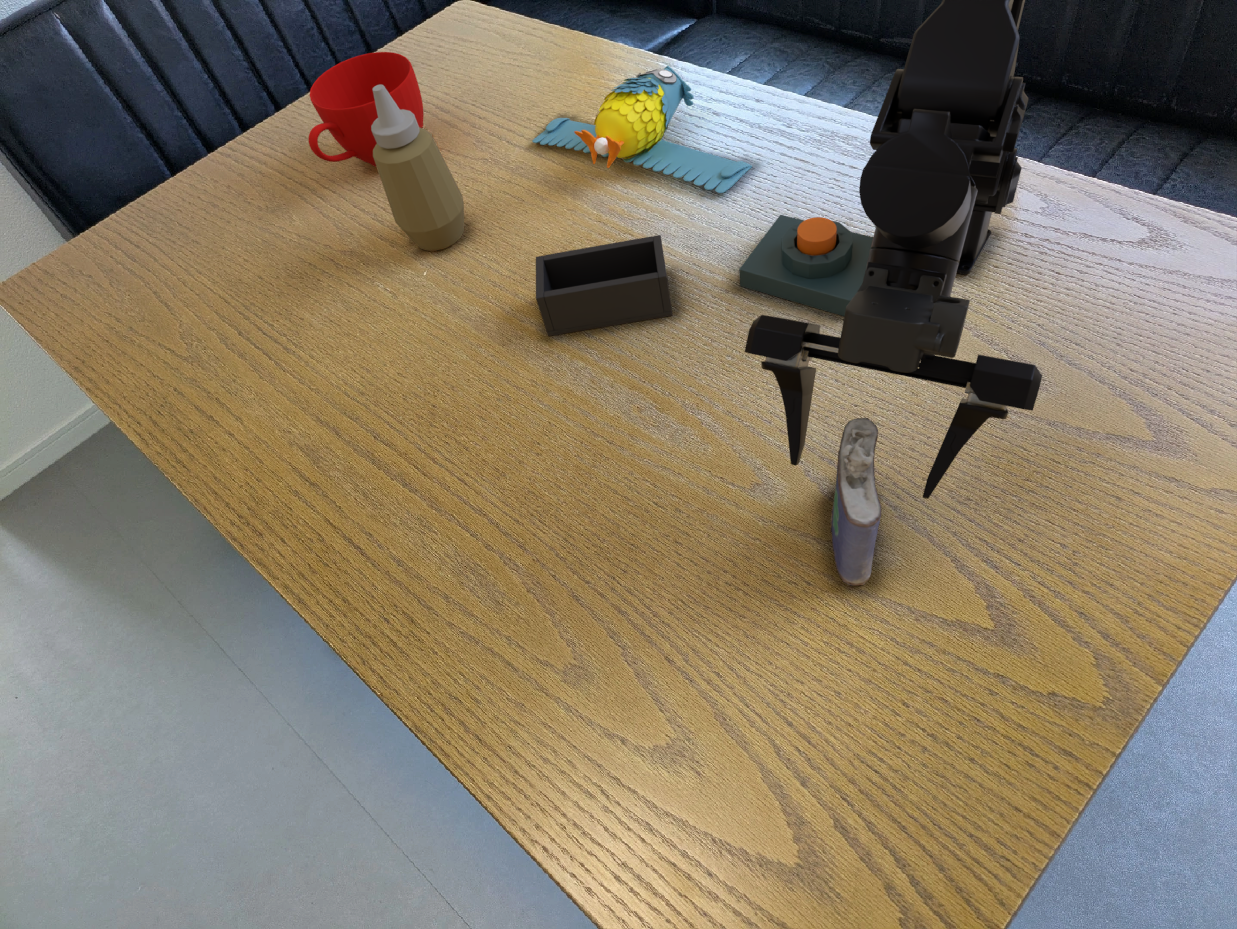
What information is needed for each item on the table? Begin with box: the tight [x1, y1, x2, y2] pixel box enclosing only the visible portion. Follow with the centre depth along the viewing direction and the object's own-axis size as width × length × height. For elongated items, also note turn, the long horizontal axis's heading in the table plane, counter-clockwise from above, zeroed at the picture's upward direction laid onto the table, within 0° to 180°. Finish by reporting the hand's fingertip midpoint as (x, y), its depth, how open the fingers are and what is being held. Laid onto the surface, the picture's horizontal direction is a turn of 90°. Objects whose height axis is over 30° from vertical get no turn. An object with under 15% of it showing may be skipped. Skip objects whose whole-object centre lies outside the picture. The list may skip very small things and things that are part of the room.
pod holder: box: [535, 234, 674, 337], centre depth 81 cm, size 13×6×5 cm, turn 94°
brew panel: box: [738, 214, 874, 317], centre depth 79 cm, size 12×9×4 cm
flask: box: [830, 417, 882, 586], centre depth 59 cm, size 9×3×11 cm, turn 172°
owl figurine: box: [531, 65, 753, 194], centre depth 94 cm, size 28×9×15 cm
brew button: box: [797, 216, 837, 256], centre depth 77 cm, size 4×4×2 cm
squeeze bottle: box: [371, 85, 465, 252], centre depth 87 cm, size 8×8×18 cm
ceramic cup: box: [307, 51, 424, 168], centre depth 102 cm, size 13×17×10 cm
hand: (858, 480), depth 58 cm, fingers open, 9 cm apart
